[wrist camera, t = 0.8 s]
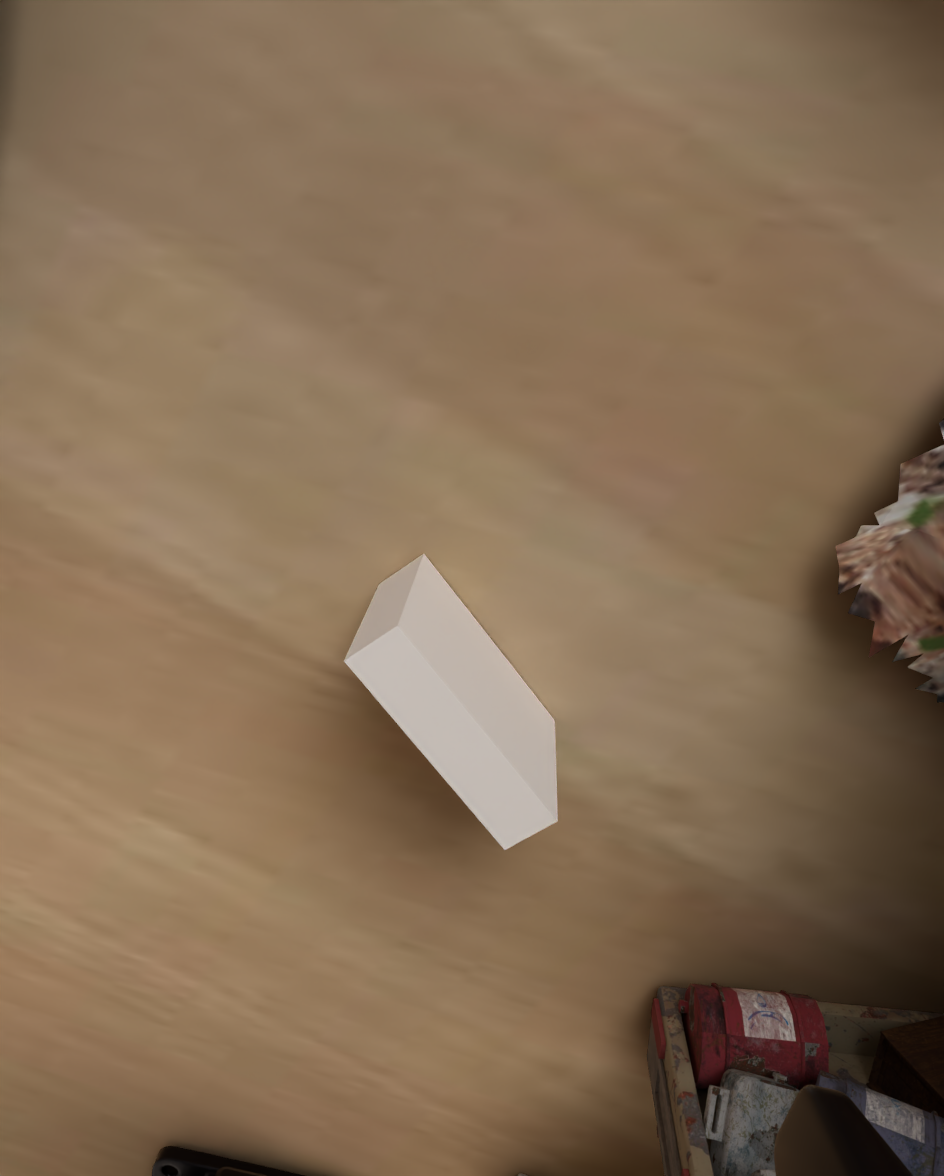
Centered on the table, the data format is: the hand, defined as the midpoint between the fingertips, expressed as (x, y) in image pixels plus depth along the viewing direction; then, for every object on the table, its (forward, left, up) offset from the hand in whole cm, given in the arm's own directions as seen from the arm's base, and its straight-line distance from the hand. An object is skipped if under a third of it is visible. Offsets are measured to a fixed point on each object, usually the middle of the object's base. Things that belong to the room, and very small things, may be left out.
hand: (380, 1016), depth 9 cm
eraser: (-1, 0, -11) cm, 11 cm away
